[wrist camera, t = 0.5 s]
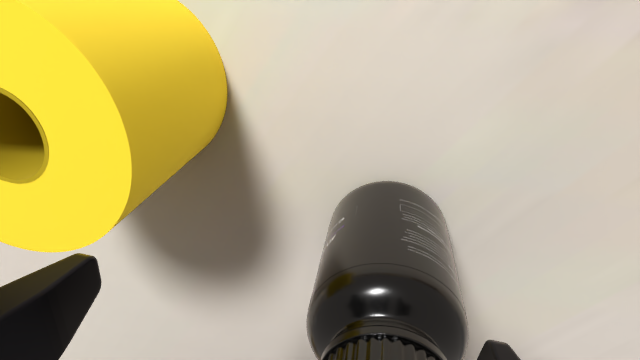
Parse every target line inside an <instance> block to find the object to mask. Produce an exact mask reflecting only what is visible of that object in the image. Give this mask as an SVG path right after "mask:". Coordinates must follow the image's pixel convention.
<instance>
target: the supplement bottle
mask: <svg viewBox="0 0 640 360" xmlns="http://www.w3.org/2000/svg"><path fill="white" fill-rule="evenodd" d="M307 335H308V339H309V342H310V345H311V348H312V350H313V352H314V354H315V356H316V358H317V359H318V360H463V358H464V355H465V352H466V349H467V345H468V336H469V335H468V324H467V318H466V313H465V308H464V303H463V299H462V294H461V290H460V285H459V280H458V276H457V271H456V266H455V262H454V257H453V253H452V248H451V243H450V239H449V234H448V230H447V226H446V222H445V219H444V217H443V214H442V212H441V210H440V209H439V207H438V206H437V204H436V203H435V202H434V201H433V200H432V199H431V198H430V197H429V196H428V195H427V194H425V193H424V192H422V191H421V190H419V189H417V188H415V187H413V186H410V185H407V184H404V183H399V182H392V181H382V182H374V183H370V184H366V185H364V186H361V187H359V188H357V189H355V190H353V191H352V192H350V193H349V194H348V195H347V196H346V197H344V198H343V199H342V201H341V202H340V203H339V204H338V206H337V207H336V209H335V211H334V213H333V216H332V218H331V222H330V225H329V229H328V233H327V237H326V241H325V245H324V249H323V253H322V257H321V261H320V265H319V269H318V273H317V276H316V280H315V284H314V288H313V292H312V296H311V300H310V304H309V308H308V314H307Z"/></svg>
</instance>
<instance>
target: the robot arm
mask: <svg viewBox="0 0 640 360" xmlns="http://www.w3.org/2000/svg"><path fill="white" fill-rule="evenodd" d="M100 288H101V277H100V272H99V267H98V262H97V259H96V258H95V257H94V256H90V255H86V254H81V253H77V254H74V255H71V256H69V257H67V258H65V259H62V260H60V261H58V262H56V263H53V264H51V265H49V266H47V267H44V268H42V269H40V270H38V271H35V272H33V273H31V274H29V275H26V276H24V277H22V278H20V279H17V280H15V281H13V282H11V283H8V284H6V285H4V286H2V287H0V360H59V358H60V357H61V355H62V354H63V352H64V351H65V349H66V348H67V346H68V345H69V343H70V341H71V340H72V338H73V336H74V334H75V333H76V331H77V329H78V328H79V326H80V324H81V322H82V321H83V319H84V317H85V315H86V314H87V312H88V310H89V309H90V307H91V305H92V303H93V302H94V300H95V298H96V297H97V295H98V293H99V291H100ZM477 360H520V358H519V357H518V356H517V355H516V353H515V352H514V351H513V349H512V348H511V347H510V346H509V345H508V344H506V343H504V342H499V341H494V340H487V341H486V342H485V344H484V346H483V348H482V350H481V352H480V354H479V356H478V358H477Z"/></svg>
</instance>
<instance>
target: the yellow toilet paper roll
mask: <svg viewBox="0 0 640 360" xmlns="http://www.w3.org/2000/svg"><path fill="white" fill-rule="evenodd" d="M226 105H227V81H226V74H225V70H224V66H223V62H222V59H221V57H220V54H219V52H218V49H217V47H216V45H215V43H214V41H213V40H212V38H211V36H210V35H209V33H208V31H207V30H206V29H205V27H204V26H203V25H202V23H201V22H200V21H199V20H198V19H197V17H196V16H195V15H194V14H193V13H192V12H191V11H190V10H189V9H187V8H186V7H185V6H184V5H183V4H181V3H180V2H179V1H177V0H0V242H3V243H6V244H8V245H11V246H15V247H18V248H22V249H27V250H32V251H39V252H64V251H71V250H75V249H79V248H82V247H85V246H87V245H90V244H92V243H93V242H95V241H97V240H99V239H100V238H101V237H103V236H104V235H105V234H106V233H108V232H109V231H110V230H111V229H112V228H113V227H114V226H116V225H117V224H118V223H119V222H120V221H121V220H122V219H124V218H125V217H126V216H127V215H128V214H129V213H130V212H132V211H133V210H134V209H135V208H136V207H137V206H138V205H140V204H141V203H142V202H143V201H144V200H145V199H146V198H148V197H149V196H150V195H151V194H152V193H153V192H154V191H156V190H157V189H158V188H159V187H160V186H161V185H162V184H164V183H165V182H166V181H167V180H168V179H169V178H170V177H171V176H173V175H174V174H175V173H176V172H177V171H178V170H179V169H181V168H182V167H183V166H184V165H185V164H186V163H187V162H189V161H190V160H191V159H192V158H193V157H194V156H195V155H197V154H198V153H199V152H200V151H201V150H202V149H203V148H205V147H206V146H207V145H208V144H209V143H210V142H211V140H212V139H213V138H214V136H215V135H216V133H217V132H218V130H219V128H220V126H221V124H222V121H223V118H224V115H225V111H226Z"/></svg>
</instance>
